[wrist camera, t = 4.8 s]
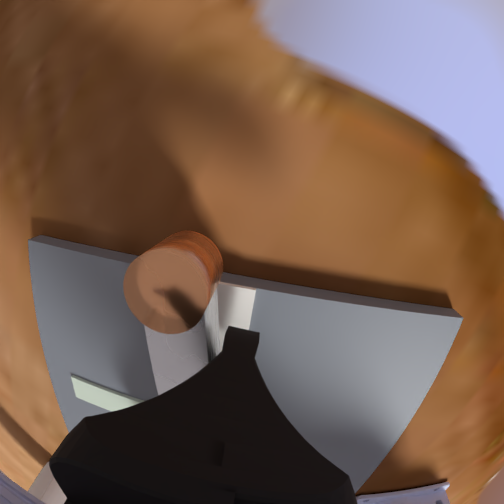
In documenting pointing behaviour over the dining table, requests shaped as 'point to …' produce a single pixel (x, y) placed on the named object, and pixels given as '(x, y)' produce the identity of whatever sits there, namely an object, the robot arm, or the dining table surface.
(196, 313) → the lever with ball knob
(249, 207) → the dining table surface
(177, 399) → the robot arm
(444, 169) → the dining table surface
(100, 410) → the lock plate
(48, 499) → the photo printer
